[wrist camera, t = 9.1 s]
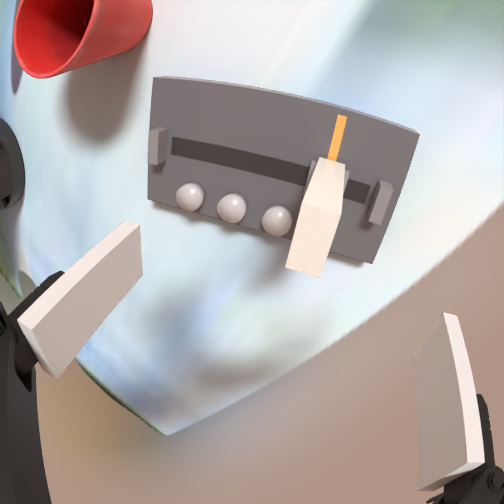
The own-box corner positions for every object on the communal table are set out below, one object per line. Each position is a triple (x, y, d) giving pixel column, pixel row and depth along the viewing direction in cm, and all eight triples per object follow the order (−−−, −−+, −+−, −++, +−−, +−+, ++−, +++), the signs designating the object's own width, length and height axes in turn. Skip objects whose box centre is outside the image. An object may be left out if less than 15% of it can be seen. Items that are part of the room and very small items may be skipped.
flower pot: (151, 77, 25) (77, 89, 17) (75, 60, 26) (5, 72, 18) (183, -24, 19) (115, -50, 11) (99, -26, 20) (28, -35, 12)
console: (158, 191, 32) (138, 205, 29) (165, 76, 25) (142, 78, 22) (371, 252, 28) (372, 274, 25) (414, 130, 22) (424, 138, 19)
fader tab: (302, 200, 25) (276, 264, 18) (313, 153, 23) (292, 199, 15) (337, 210, 25) (328, 280, 17) (351, 164, 23) (350, 217, 15)
